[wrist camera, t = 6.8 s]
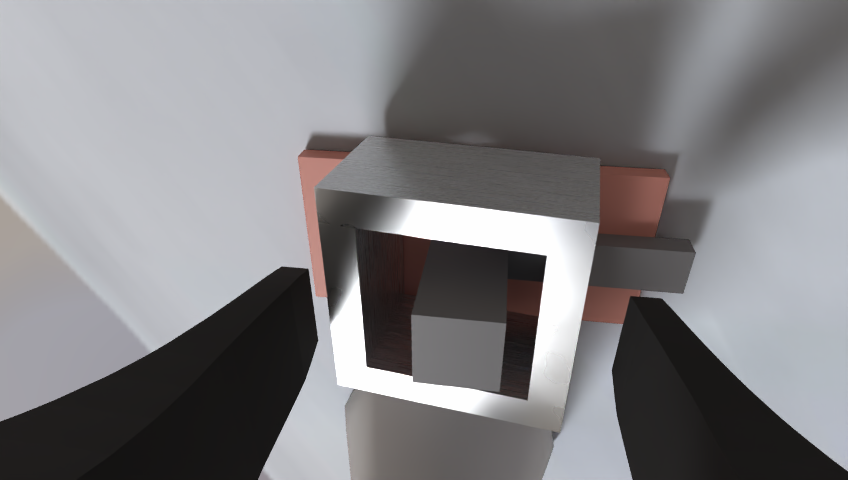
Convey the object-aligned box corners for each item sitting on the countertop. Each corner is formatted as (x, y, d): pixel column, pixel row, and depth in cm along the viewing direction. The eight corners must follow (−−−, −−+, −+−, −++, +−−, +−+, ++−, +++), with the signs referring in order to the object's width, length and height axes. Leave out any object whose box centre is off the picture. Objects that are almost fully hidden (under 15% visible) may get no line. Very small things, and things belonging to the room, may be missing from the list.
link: (600, 158, 12) (599, 223, 9) (567, 344, 15) (560, 432, 12) (368, 135, 13) (313, 187, 11) (379, 311, 16) (337, 384, 13)
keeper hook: (700, 171, 13) (783, 287, 9) (658, 315, 15) (709, 460, 11) (304, 149, 14) (219, 242, 10) (321, 286, 16) (258, 406, 12)
